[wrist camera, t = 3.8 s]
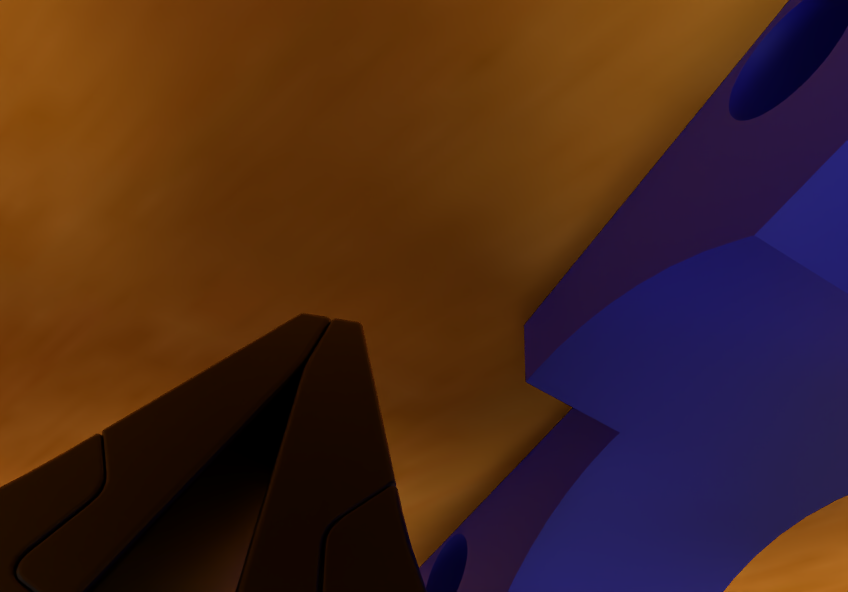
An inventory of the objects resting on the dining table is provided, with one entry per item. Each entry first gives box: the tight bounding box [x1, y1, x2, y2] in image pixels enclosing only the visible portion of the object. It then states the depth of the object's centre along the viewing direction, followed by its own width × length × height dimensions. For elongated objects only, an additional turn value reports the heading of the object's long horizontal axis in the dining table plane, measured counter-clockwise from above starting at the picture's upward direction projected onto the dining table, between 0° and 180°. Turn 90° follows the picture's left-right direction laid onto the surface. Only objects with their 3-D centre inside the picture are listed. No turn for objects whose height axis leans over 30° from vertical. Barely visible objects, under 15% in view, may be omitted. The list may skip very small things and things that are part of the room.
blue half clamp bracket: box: [419, 0, 848, 592], centre depth 8 cm, size 12×4×6 cm, turn 151°
